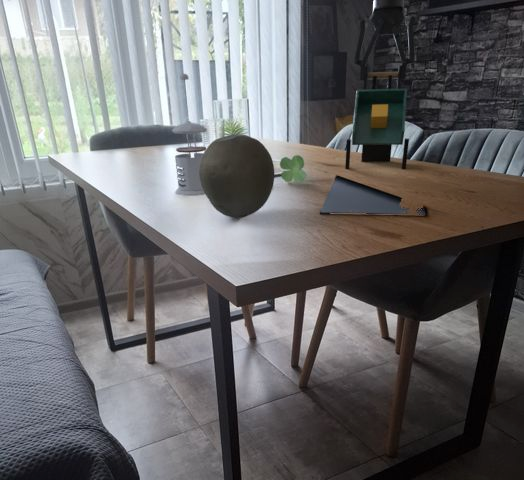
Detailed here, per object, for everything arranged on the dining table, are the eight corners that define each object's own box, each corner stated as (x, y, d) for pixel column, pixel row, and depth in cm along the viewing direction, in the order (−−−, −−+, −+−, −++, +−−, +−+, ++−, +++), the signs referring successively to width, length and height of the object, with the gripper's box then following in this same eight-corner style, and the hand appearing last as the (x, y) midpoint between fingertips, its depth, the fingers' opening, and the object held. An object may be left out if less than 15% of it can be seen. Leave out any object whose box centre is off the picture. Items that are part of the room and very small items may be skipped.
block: (371, 116, 128) (372, 104, 124) (387, 116, 127) (388, 104, 124) (370, 128, 127) (371, 116, 123) (386, 128, 126) (387, 116, 122)
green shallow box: (358, 82, 134) (358, 67, 129) (406, 80, 131) (408, 65, 127) (352, 145, 127) (352, 131, 122) (402, 144, 124) (404, 131, 120)
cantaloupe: (198, 213, 99) (191, 133, 91) (265, 207, 102) (263, 129, 94) (209, 231, 87) (201, 141, 79) (284, 224, 90) (283, 136, 82)
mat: (336, 176, 129) (336, 175, 129) (414, 177, 125) (414, 175, 125) (319, 214, 95) (319, 212, 95) (425, 216, 91) (425, 214, 91)
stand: (348, 167, 141) (349, 133, 137) (403, 167, 138) (406, 133, 134) (344, 175, 130) (346, 139, 125) (404, 176, 127) (409, 139, 122)
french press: (173, 196, 114) (159, 74, 102) (176, 186, 124) (163, 74, 112) (215, 194, 115) (206, 72, 102) (214, 184, 125) (206, 73, 112)
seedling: (294, 198, 130) (294, 189, 124) (273, 177, 131) (272, 168, 124) (313, 179, 130) (314, 169, 123) (292, 158, 131) (292, 148, 124)
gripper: (432, -11, 121) (420, 92, 132) (348, -6, 125) (343, 94, 136) (435, -15, 114) (422, 93, 126) (346, -10, 118) (341, 95, 130)
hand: (381, 93), depth 131 cm, fingers closed on green shallow box, 8 cm apart
